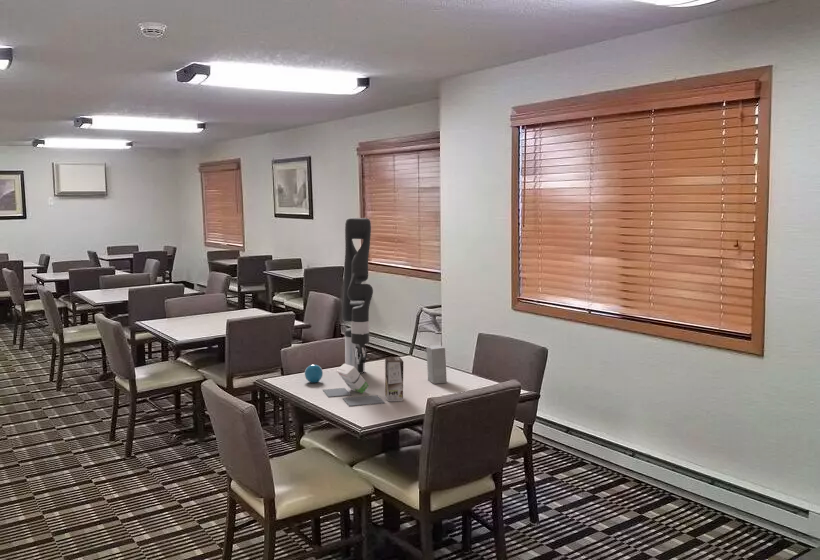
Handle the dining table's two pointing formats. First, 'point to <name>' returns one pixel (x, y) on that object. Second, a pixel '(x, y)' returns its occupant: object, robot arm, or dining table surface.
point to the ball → (313, 373)
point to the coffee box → (394, 379)
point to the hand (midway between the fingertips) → (360, 372)
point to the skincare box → (436, 364)
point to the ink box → (352, 378)
